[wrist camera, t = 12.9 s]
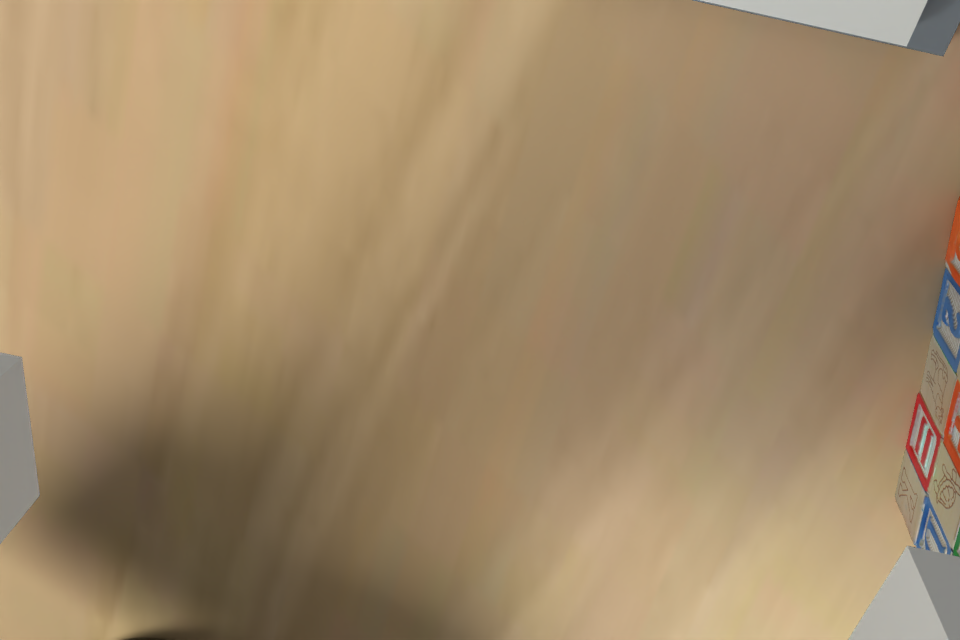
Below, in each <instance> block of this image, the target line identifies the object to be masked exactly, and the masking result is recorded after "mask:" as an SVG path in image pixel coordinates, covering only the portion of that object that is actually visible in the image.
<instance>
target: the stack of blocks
mask: <svg viewBox="0 0 960 640" xmlns="http://www.w3.org/2000/svg"><path fill="white" fill-rule="evenodd" d="M945 265H946V269H945V273H944V277H943V282H942V288H941V292H940V296H939V301H938V306H937V311H936V315H935V320H934V324H933V335H932V337H931V341H930V346H929V351H928V355H927V360H926V365H925V370H924V374H923V379H922V384H921V390H920V392H919V393H918V395H917V399H916V403H915V408H914V413H913V418H912V422H911V427H910V431H909V436H908V441H907V445H906V450H905V452H904V456H903V461H902V465H901V470H900V474H899V479H898V484H897V488H896V493H895V498H896V502H897V504H898V507H899V509H900V511H901V513H902V515H903V517H904V520H905V523H906V525H907V528H908V531H909V534H910V536H911V539H912V541H913V543H914V545H916V547H917V548H920V549H925V550H929V551H934V552H939V553H944V554H948V555H953V556H958V557H959V558H960V197H959V199H958V203H957V207H956V212H955V216H954V221H953V226H952V230H951V234H950V239H949V244H948V249H947V254H946V258H945Z"/></svg>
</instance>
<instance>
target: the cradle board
mask: <svg viewBox="0 0 960 640" xmlns="http://www.w3.org/2000/svg"><path fill="white" fill-rule="evenodd" d="M693 1H698V2H702V3H707V4H711V5H716V6H720V7H725V8H729V9H733V10H738V11H742V12H747V13H751V14H756V15H760V16H765V17H769V18H774V19H778V20H783V21H787V22H792V23H796V24H801V25H805V26H810V27H814V28H818V29H823V30H827V31H832V32H836V33H841V34H845V35H850V36H854V37H859V38H863V39H868V40H872V41H877V42H881V43H886V44H890V45H895V46H899V47H904V48H908V49H912V50H917V51H921V52H926V53H930V54H935V55H939V56H944V54H945V52H946V50H947V48H948V45H949V43H950V41H951V39H952V37H953V35H954V33H955V31H956V29H957V27H958V25H959V23H960V0H693Z"/></svg>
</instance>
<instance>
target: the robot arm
mask: <svg viewBox="0 0 960 640" xmlns="http://www.w3.org/2000/svg"><path fill="white" fill-rule="evenodd" d="M39 496H40V492H39V485H38V477H37V469H36V462H35V454H34V446H33V439H32V431H31V423H30V416H29V408H28V400H27V393H26V385H25V377H24V370H23V362H22V357H19V356H14V355H10V354H5V353H0V544H1V542H2V541H3V540H4V539H5V538H6V536H7V535H8V534H9V533H10V531H11V530H12V529H13V528H14V527H15V525H16V524H17V523H18V522H19V520H20V519H21V518H22V517H23V516H24V514H25V513H26V512H27V511H28V509H29V508H30V507H31V506H32V505H33V503H34V502H35V501H36V500H37V498H38V497H39ZM848 640H960V558H959V557H958V556H953V555H948V554H944V553H939V552H934V551H929V550H925V549H920V548H915V547H911V546H907V547H906V548H905V550H904V551H903V553H902V555H901V556H900V558H899V559H898V561H897V563H896V564H895V566H894V567H893V569H892V571H891V572H890V574H889V575H888V577H887V578H886V580H885V582H884V583H883V585H882V586H881V588H880V590H879V591H878V593H877V594H876V596H875V598H874V599H873V601H872V602H871V604H870V605H869V607H868V609H867V610H866V612H865V613H864V615H863V617H862V618H861V620H860V621H859V623H858V625H857V626H856V628H855V629H854V631H853V633H852V634H851V636H850V637H849V639H848Z"/></svg>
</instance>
